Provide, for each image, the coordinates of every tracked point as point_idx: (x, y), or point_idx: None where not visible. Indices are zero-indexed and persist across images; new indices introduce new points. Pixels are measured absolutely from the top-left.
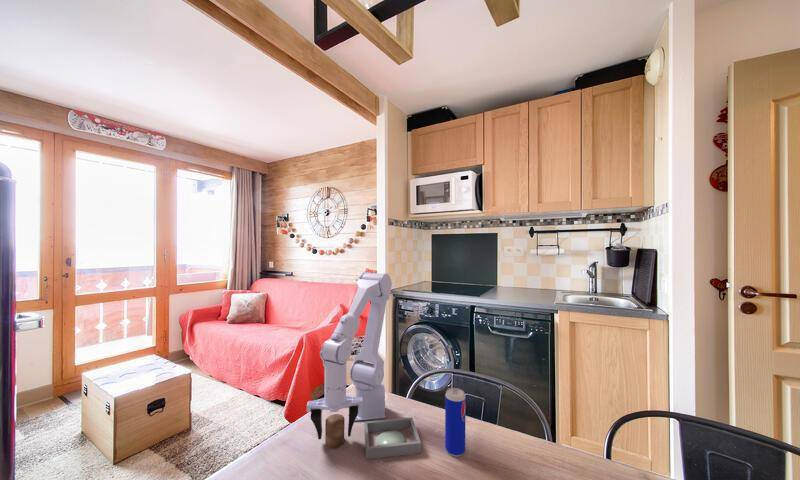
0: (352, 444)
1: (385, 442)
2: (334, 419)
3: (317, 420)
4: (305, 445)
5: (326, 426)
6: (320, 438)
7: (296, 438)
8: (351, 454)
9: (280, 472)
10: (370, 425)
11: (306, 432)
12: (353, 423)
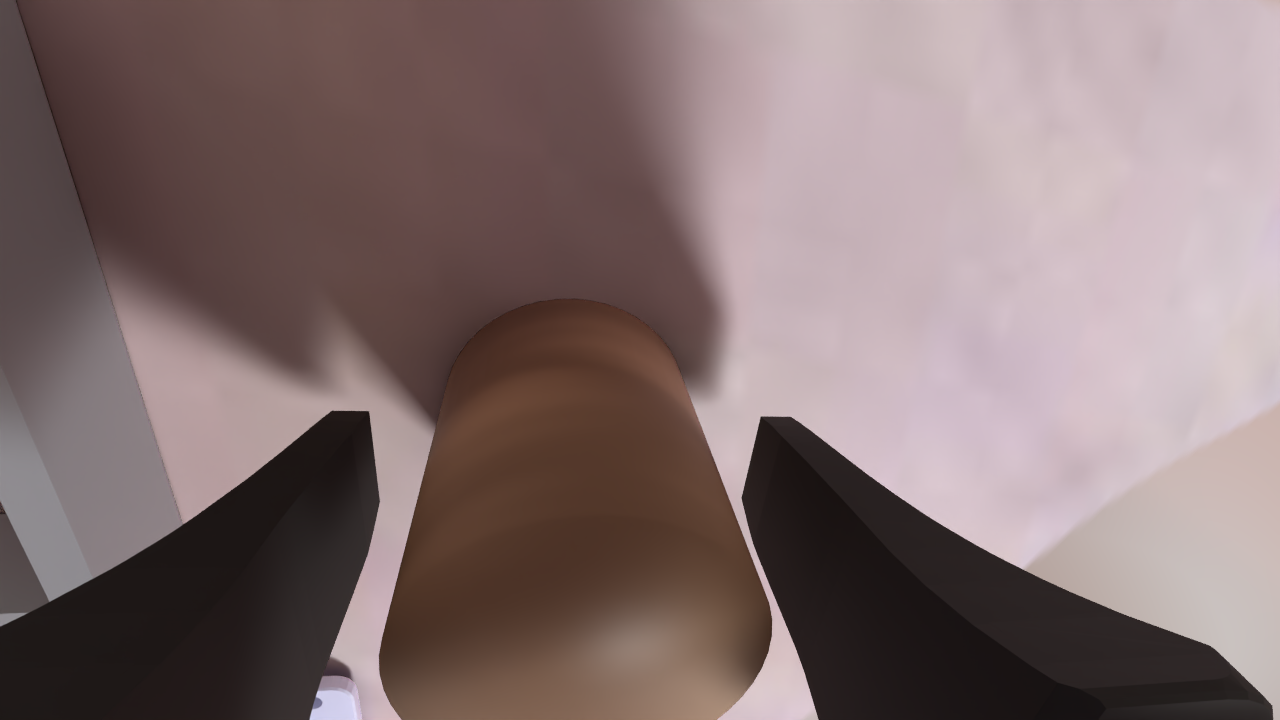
0: (319, 329)
1: None
2: (596, 665)
3: (1034, 630)
4: (897, 406)
5: (743, 537)
6: (773, 420)
7: (961, 509)
8: (304, 126)
9: (1254, 18)
10: (23, 580)
11: None
12: (143, 550)
